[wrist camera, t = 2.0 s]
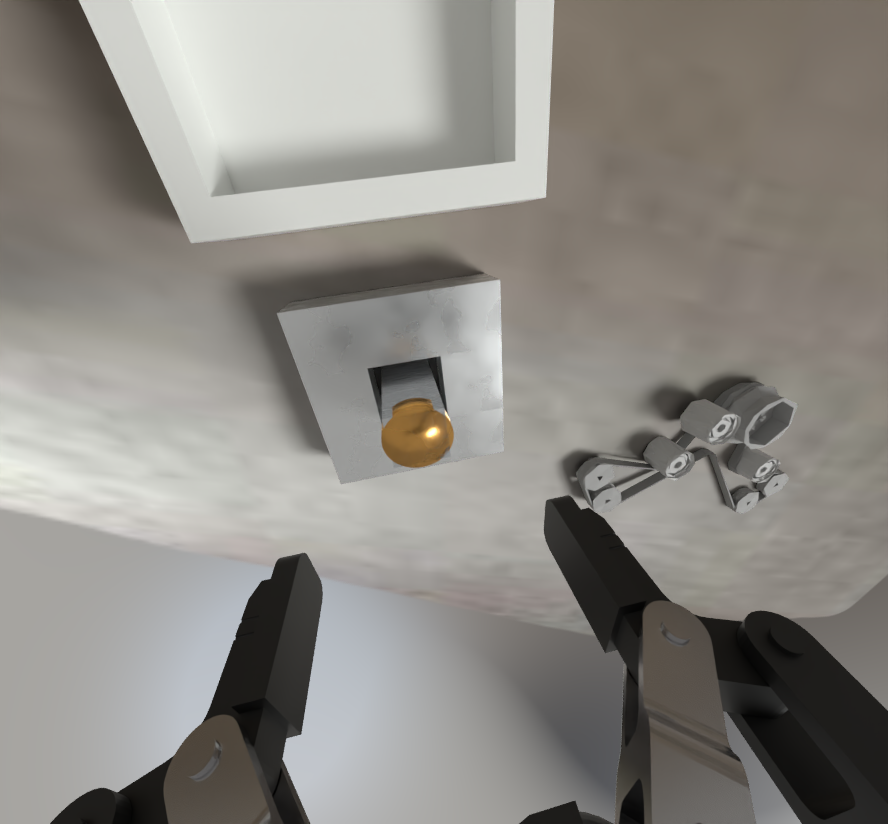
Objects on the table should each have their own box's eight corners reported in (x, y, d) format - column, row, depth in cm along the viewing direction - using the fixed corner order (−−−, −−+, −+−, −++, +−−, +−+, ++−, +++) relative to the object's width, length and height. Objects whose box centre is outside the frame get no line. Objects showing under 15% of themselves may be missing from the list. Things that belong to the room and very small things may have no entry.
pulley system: (619, 353, 26) (555, 498, 32) (667, 373, 22) (583, 535, 28) (826, 390, 34) (743, 501, 40) (890, 410, 29) (786, 530, 36)
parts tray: (48, -207, 10) (-116, -419, 7) (515, -212, 12) (570, -392, 8) (229, 240, 17) (190, 243, 14) (515, 203, 18) (545, 197, 15)
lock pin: (376, 356, 22) (373, 415, 15) (428, 347, 22) (449, 401, 15) (387, 402, 23) (389, 473, 17) (435, 393, 24) (457, 460, 17)
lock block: (290, 302, 19) (276, 313, 16) (485, 273, 20) (500, 279, 17) (345, 458, 25) (341, 484, 23) (491, 429, 26) (503, 451, 24)
